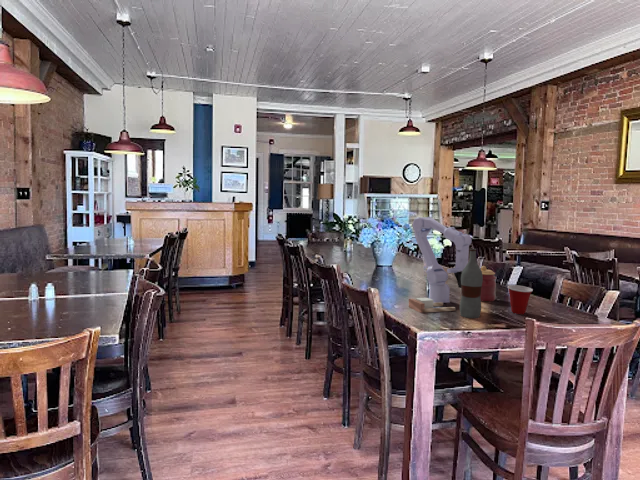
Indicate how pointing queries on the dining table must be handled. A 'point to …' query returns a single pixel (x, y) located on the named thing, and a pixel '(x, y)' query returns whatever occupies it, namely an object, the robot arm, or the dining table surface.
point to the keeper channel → (420, 308)
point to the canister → (488, 285)
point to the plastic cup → (519, 298)
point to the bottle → (471, 288)
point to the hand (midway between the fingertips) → (460, 287)
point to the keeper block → (426, 302)
